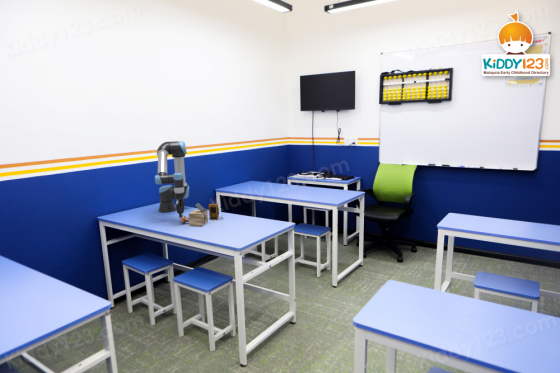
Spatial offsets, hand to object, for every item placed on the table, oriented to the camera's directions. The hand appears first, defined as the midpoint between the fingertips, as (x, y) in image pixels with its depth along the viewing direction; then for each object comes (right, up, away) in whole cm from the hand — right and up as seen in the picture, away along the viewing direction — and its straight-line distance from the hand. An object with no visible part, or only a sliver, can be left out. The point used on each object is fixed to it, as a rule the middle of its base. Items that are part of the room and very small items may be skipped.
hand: (181, 220), depth 285 cm
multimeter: (+25, +1, +14) cm, 28 cm away
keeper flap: (+16, +11, -4) cm, 20 cm away
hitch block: (+14, -2, -2) cm, 15 cm away
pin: (+9, -2, -1) cm, 9 cm away
